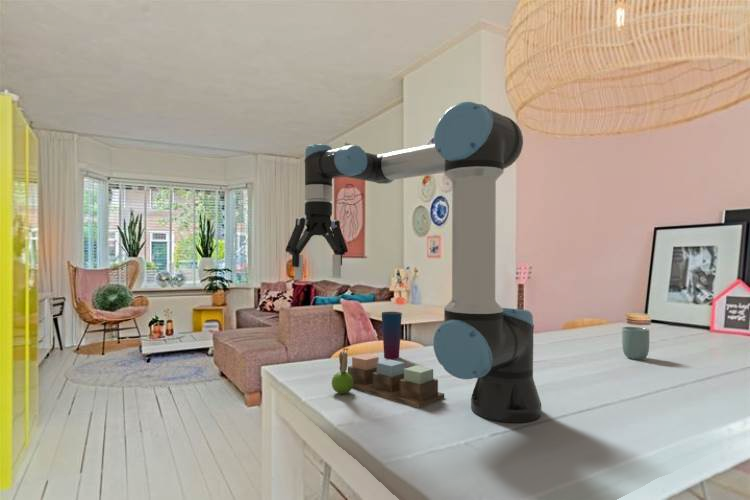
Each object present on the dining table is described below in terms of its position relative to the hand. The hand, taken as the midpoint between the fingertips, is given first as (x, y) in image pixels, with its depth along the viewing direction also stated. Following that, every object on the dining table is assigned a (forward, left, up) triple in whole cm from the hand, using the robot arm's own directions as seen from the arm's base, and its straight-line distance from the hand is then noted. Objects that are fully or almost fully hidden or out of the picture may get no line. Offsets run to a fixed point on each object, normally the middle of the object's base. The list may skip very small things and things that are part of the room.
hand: (318, 278), depth 125 cm
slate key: (-21, -6, -24) cm, 32 cm away
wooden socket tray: (-21, -6, -28) cm, 36 cm away
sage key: (-30, -6, -24) cm, 39 cm away
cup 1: (+3, -34, -28) cm, 44 cm away
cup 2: (-57, -90, -28) cm, 111 cm away
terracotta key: (-12, -6, -24) cm, 27 cm away
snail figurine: (-14, +4, -28) cm, 32 cm away
